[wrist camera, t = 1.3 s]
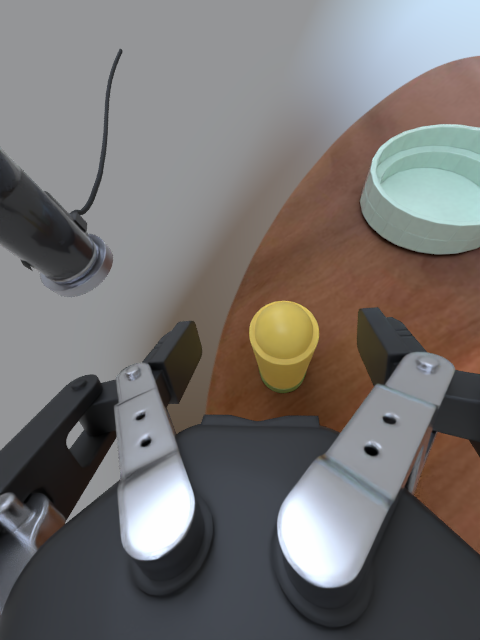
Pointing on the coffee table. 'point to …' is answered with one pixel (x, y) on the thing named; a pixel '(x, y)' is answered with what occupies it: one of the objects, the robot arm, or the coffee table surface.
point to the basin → (426, 189)
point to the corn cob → (283, 344)
